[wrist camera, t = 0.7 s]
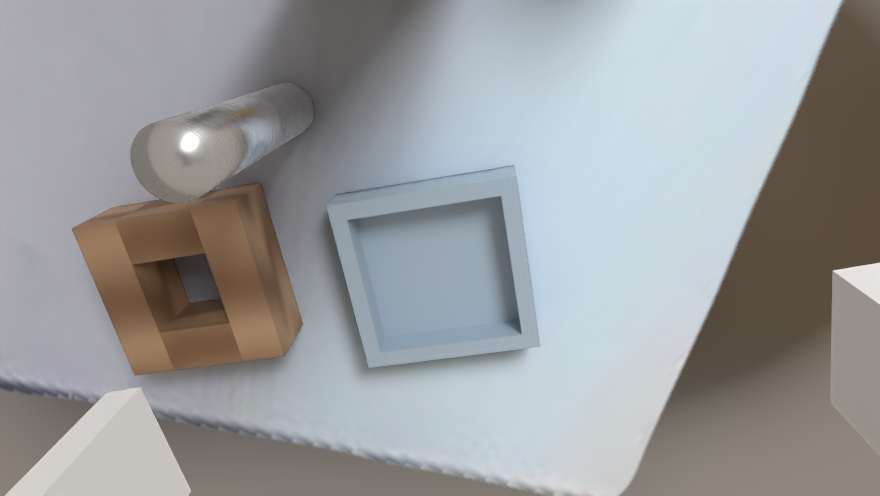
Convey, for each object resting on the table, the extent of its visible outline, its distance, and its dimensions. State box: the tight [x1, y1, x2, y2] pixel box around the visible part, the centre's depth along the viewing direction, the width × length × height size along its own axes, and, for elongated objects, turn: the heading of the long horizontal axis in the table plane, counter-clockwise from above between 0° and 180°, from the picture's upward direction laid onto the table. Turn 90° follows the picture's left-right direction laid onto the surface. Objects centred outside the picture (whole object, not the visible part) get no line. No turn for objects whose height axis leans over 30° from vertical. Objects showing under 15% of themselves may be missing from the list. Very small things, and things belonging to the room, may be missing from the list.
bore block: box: [72, 183, 303, 375], centre depth 36 cm, size 10×10×4 cm
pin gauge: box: [131, 83, 314, 203], centre depth 27 cm, size 3×3×14 cm
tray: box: [326, 165, 540, 368], centre depth 36 cm, size 11×11×2 cm
